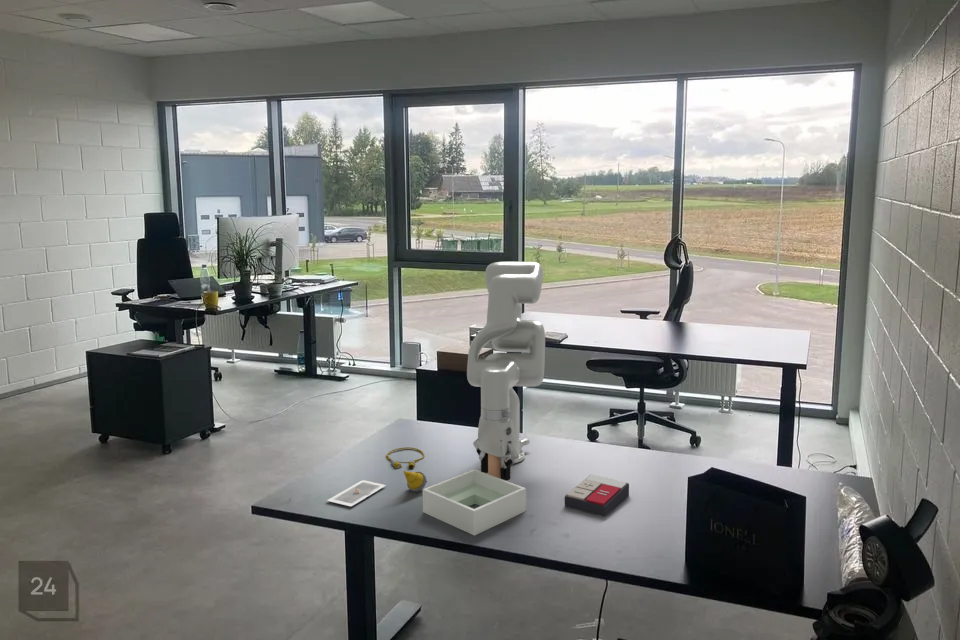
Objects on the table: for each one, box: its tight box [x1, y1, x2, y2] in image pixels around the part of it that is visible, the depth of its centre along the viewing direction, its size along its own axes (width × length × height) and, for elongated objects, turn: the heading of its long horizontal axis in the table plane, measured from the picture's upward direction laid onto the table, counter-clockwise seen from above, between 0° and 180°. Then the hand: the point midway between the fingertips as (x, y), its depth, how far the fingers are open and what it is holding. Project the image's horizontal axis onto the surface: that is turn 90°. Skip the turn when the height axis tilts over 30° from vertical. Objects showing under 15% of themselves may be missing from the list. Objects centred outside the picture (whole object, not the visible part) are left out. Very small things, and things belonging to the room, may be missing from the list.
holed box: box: [422, 469, 527, 536], centre depth 181 cm, size 18×18×6 cm
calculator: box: [564, 474, 630, 517], centre depth 187 cm, size 11×4×15 cm
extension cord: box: [385, 446, 425, 470], centre depth 218 cm, size 12×16×2 cm
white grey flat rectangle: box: [326, 479, 387, 507], centre depth 192 cm, size 8×15×2 cm, turn 152°
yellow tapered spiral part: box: [403, 470, 428, 493], centre depth 194 cm, size 5×5×10 cm
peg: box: [487, 454, 502, 479], centre depth 198 cm, size 4×4×9 cm
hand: (495, 476), depth 198 cm, fingers open, 6 cm apart
